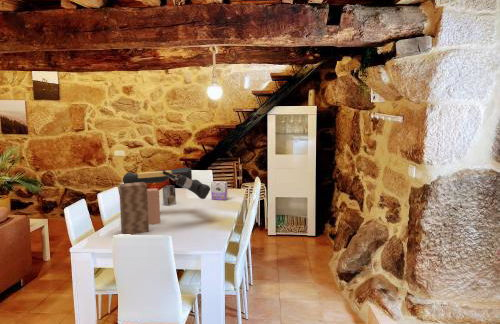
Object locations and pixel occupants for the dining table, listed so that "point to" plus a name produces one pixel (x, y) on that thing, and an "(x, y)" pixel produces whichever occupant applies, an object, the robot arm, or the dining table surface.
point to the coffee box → (169, 195)
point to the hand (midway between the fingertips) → (162, 171)
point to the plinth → (134, 208)
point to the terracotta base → (153, 206)
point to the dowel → (152, 174)
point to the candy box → (219, 190)
